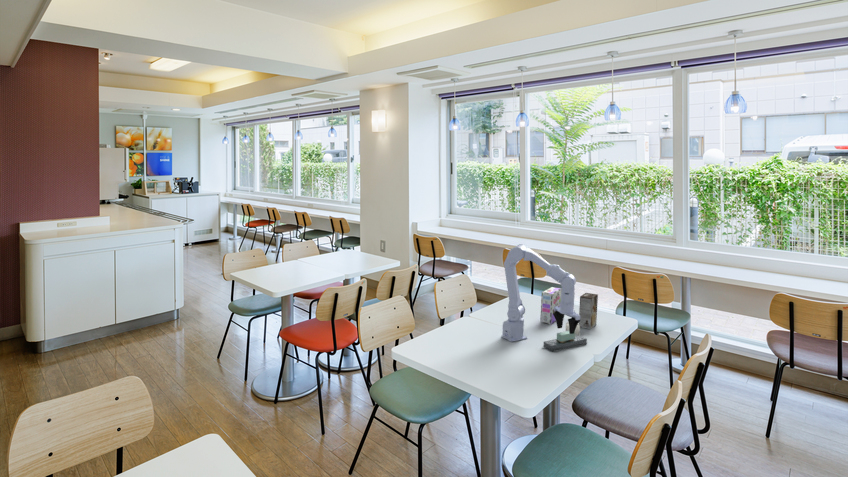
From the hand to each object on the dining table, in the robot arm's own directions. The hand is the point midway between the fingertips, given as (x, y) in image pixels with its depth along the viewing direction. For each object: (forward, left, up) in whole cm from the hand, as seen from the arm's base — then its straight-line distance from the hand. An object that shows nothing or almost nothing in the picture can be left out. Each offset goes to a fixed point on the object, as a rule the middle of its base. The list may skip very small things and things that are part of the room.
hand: (565, 330), depth 208 cm
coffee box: (+29, +15, -7) cm, 33 cm away
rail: (0, 0, -7) cm, 7 cm away
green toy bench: (0, 0, -7) cm, 7 cm away
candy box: (+18, +30, -7) cm, 36 cm away
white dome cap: (+13, +9, -7) cm, 17 cm away
